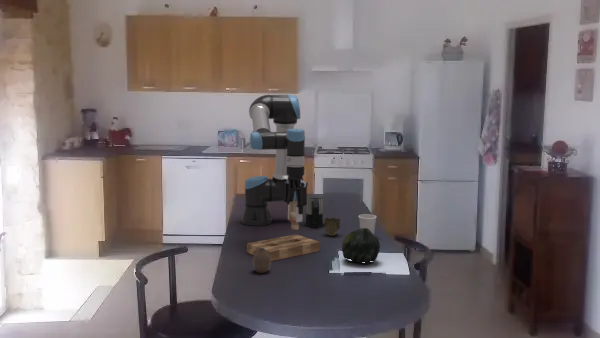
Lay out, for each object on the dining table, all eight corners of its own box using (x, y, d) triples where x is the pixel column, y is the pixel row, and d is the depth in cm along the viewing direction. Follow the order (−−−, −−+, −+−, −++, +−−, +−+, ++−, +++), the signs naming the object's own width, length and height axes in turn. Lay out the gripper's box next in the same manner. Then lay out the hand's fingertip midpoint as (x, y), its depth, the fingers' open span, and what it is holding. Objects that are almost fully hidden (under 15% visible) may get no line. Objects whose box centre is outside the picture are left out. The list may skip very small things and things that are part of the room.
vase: (252, 268, 239) (252, 246, 238) (270, 268, 240) (270, 246, 239) (252, 274, 233) (252, 251, 231) (271, 274, 233) (271, 251, 232)
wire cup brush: (338, 238, 288) (339, 220, 287) (322, 237, 289) (323, 220, 288) (340, 234, 295) (341, 217, 294) (325, 233, 297) (325, 216, 296)
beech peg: (286, 228, 266) (286, 202, 265) (296, 227, 270) (296, 200, 268) (293, 231, 262) (294, 203, 261) (303, 229, 266) (303, 202, 264)
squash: (341, 241, 260) (343, 220, 248) (377, 243, 259) (381, 222, 248) (340, 271, 250) (343, 251, 239) (378, 273, 250) (382, 253, 239)
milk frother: (301, 224, 315) (302, 195, 313) (330, 221, 321) (330, 193, 319) (313, 230, 302) (313, 200, 300) (342, 227, 308) (343, 198, 306)
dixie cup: (363, 234, 296) (364, 213, 294) (379, 236, 291) (379, 215, 289) (354, 237, 289) (355, 216, 287) (370, 240, 284) (371, 218, 283)
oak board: (247, 252, 262) (247, 243, 261) (296, 243, 278) (296, 234, 277) (269, 261, 250) (269, 251, 249) (319, 250, 266) (319, 241, 265)
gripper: (275, 164, 267) (275, 217, 270) (301, 168, 253) (301, 225, 256) (289, 163, 272) (289, 215, 275) (316, 167, 258) (315, 223, 261)
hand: (295, 220), depth 265 cm, fingers closed on beech peg, 5 cm apart
